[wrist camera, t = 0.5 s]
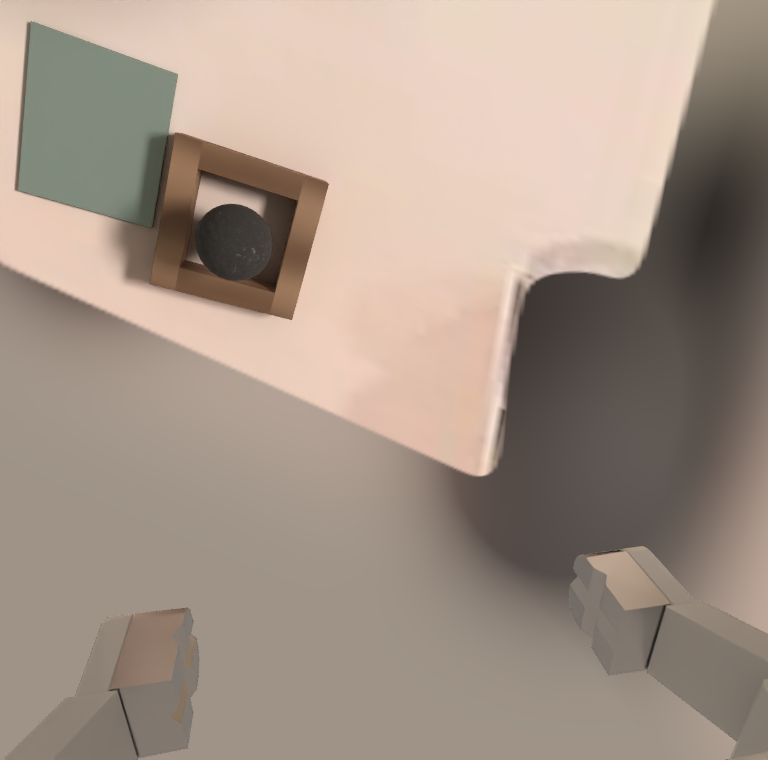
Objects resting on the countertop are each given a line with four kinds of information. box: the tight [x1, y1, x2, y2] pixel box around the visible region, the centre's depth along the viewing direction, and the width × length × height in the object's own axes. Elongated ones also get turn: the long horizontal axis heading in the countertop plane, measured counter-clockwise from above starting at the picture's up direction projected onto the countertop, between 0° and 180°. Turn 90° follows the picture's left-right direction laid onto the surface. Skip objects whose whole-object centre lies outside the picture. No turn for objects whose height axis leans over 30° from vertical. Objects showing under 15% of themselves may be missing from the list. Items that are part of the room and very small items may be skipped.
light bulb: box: [195, 204, 273, 281], centre depth 42 cm, size 6×6×10 cm
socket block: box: [150, 133, 329, 320], centre depth 45 cm, size 12×12×3 cm
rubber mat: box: [18, 21, 178, 228], centre depth 42 cm, size 12×10×1 cm
